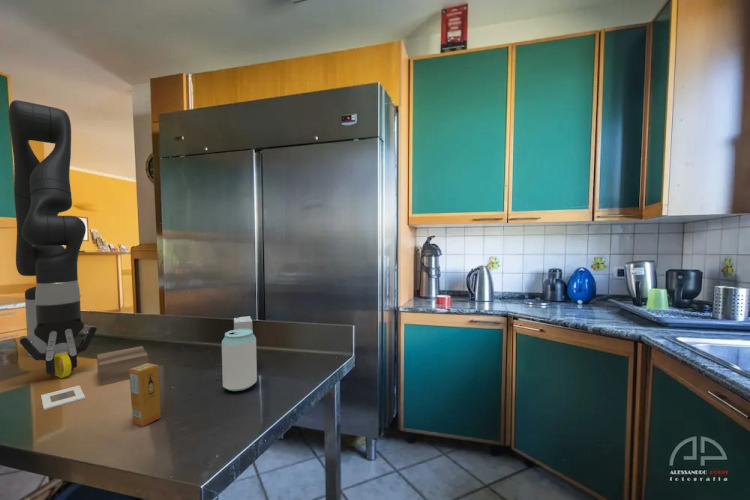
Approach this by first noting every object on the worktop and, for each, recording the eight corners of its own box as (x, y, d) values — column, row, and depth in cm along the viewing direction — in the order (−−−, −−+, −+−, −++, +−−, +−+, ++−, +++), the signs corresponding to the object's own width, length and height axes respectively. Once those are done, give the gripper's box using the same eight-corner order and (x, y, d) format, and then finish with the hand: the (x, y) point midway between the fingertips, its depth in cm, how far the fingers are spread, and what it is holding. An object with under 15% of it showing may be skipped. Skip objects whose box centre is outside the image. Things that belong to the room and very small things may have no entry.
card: (40, 396, 68) (40, 394, 68) (79, 386, 73) (79, 384, 73) (43, 410, 63) (43, 408, 63) (85, 398, 67) (85, 396, 67)
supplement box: (150, 414, 61) (148, 361, 61) (161, 418, 60) (159, 364, 60) (130, 423, 58) (128, 367, 58) (141, 428, 57) (139, 371, 57)
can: (223, 395, 69) (222, 338, 68) (222, 382, 75) (220, 330, 74) (258, 388, 72) (257, 334, 71) (254, 376, 78) (253, 326, 78)
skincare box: (255, 368, 83) (254, 320, 82) (235, 371, 81) (234, 322, 80) (252, 359, 88) (251, 315, 88) (234, 362, 86) (233, 317, 86)
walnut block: (97, 374, 80) (97, 354, 79) (142, 364, 86) (142, 345, 85) (99, 387, 73) (99, 365, 73) (148, 375, 79) (147, 355, 79)
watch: (48, 376, 78) (46, 351, 78) (63, 371, 80) (61, 347, 80) (60, 381, 75) (59, 355, 75) (75, 376, 78) (74, 351, 78)
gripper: (94, 294, 85) (97, 360, 86) (14, 302, 74) (18, 377, 75) (99, 298, 80) (102, 368, 81) (14, 307, 69) (18, 387, 70)
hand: (61, 372), depth 78 cm, fingers closed on watch, 2 cm apart
